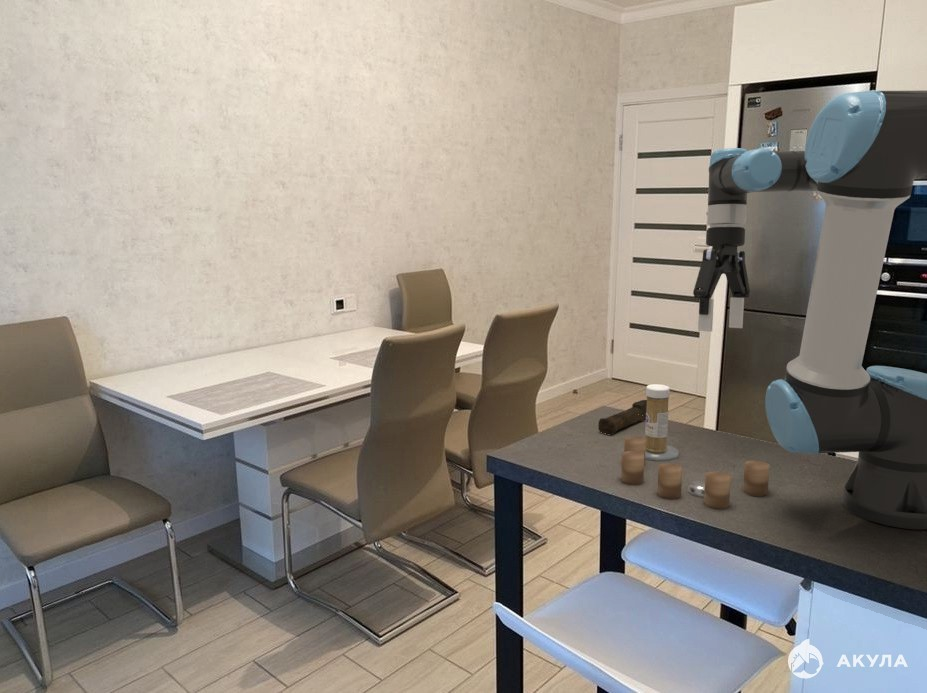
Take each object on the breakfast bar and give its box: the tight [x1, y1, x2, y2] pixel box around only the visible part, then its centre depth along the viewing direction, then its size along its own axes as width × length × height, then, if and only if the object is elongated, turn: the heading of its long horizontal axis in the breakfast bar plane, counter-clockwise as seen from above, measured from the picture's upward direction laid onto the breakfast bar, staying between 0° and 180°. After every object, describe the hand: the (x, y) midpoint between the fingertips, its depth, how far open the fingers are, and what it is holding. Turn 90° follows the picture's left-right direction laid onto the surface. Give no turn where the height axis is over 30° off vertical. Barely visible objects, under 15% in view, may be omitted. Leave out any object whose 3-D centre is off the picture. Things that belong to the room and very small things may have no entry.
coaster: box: [645, 444, 679, 462], centre depth 144 cm, size 9×9×1 cm
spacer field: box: [620, 436, 771, 510], centre depth 129 cm, size 26×18×5 cm
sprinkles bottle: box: [644, 383, 671, 453], centre depth 143 cm, size 5×5×14 cm
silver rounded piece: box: [687, 480, 705, 498], centre depth 124 cm, size 4×4×2 cm
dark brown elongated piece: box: [598, 399, 647, 436], centre depth 162 cm, size 19×4×5 cm, turn 133°
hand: (720, 329), depth 148 cm, fingers open, 13 cm apart
